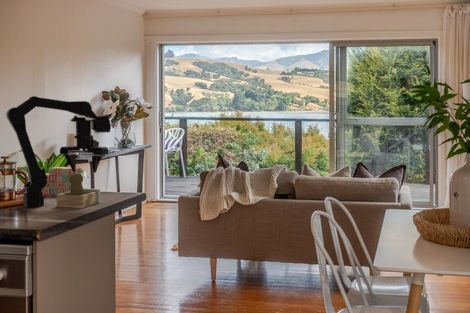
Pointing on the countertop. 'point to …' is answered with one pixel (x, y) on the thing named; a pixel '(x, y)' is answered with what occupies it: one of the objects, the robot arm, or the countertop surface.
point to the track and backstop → (94, 191)
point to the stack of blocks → (59, 180)
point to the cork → (76, 184)
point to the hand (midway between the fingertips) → (84, 172)
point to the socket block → (76, 199)
